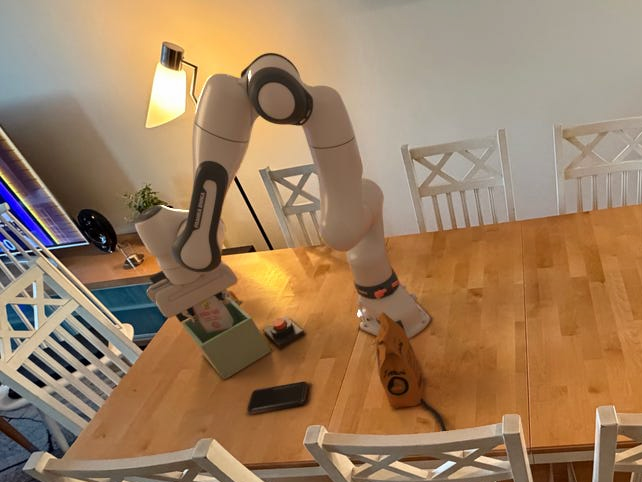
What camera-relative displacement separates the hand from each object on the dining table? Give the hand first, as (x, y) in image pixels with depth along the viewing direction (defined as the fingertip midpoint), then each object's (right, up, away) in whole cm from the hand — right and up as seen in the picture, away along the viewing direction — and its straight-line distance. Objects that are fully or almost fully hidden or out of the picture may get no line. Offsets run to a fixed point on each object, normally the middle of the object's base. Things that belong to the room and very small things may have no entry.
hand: (211, 311), depth 137 cm
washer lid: (-6, +7, +2) cm, 9 cm away
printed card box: (+1, -4, +4) cm, 6 cm away
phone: (+20, -24, -3) cm, 31 cm away
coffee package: (+54, -21, -8) cm, 59 cm away
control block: (+14, -5, +17) cm, 22 cm away
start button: (+13, -3, +14) cm, 20 cm away
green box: (+1, -11, +13) cm, 17 cm away
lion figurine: (-6, +2, +29) cm, 29 cm away
